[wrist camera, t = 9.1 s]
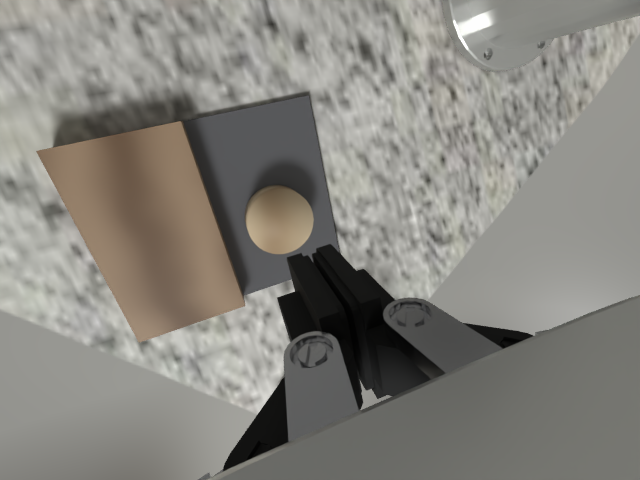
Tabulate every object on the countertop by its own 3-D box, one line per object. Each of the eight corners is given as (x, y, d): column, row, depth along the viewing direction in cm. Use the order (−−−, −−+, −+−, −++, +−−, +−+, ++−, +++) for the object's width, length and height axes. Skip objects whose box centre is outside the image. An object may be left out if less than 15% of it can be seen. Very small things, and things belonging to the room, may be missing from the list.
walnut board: (183, 121, 21) (180, 120, 20) (243, 293, 27) (245, 305, 25) (52, 149, 20) (36, 151, 18) (144, 327, 25) (138, 342, 23)
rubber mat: (307, 95, 23) (308, 95, 23) (340, 261, 29) (341, 262, 29) (183, 121, 21) (182, 121, 21) (243, 293, 27) (243, 295, 27)
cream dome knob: (305, 182, 25) (312, 186, 23) (307, 241, 27) (314, 249, 25) (241, 187, 24) (243, 192, 22) (248, 249, 25) (250, 258, 24)
